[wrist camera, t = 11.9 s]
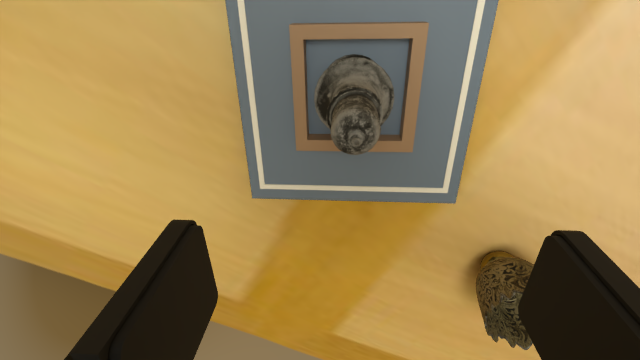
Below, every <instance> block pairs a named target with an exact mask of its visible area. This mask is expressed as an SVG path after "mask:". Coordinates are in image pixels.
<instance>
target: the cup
mask: <svg viewBox="0 0 640 360" xmlns="http://www.w3.org/2000/svg"><path fill="white" fill-rule="evenodd" d="M533 267H534V265H533V264H531V263H529V262H528V261H526V260H523V259H520V258H515V257H514V256H512V255H511V254H509V253H507V252H504V251H495V252H492V253H489V254H488V255H486V256H485V257H484V258H483V259H482V261H481V271H480V272H479V274H478V276H477V280H476V292H477V298H478V302H479V306H480V309H481V313H482V317H483V320H484V324H485V329H486V332H487V334H488V335H489V336H492V339H493V340H494V341H495V342H497V341H498V336H499V337H500V338H501V339H503V338H504V339H506V340H507V341H508V343H509V344H510V346H511V347H513V348H514V347H515V345H516V344H517V345H518V346H520V347H521V348H522V349H524V350H527V349H529V348H530V346H531V345H532V344H533V342H532V340H531V339H530V337H529V335H528V333H527V331H526V329H525V327H524V325H523V324H522V322H521V320H520V317H519V314H518V305H519V302H520V300H521V297H522V295H523V292H524V290H525V287H526V285H527V282H528V280H529V277H530V274H531V272H532V269H533Z"/></svg>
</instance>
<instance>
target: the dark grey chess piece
mask: <svg viewBox="0 0 640 360" xmlns="http://www.w3.org/2000/svg"><path fill="white" fill-rule="evenodd" d="M314 103H315V108H316V112H317V114H318V116H319V118H320V120H321V121H322V122H323V123H324V124H325V125H326V126H327V127H328V128H329V129H330V130H331V131H330V133H331V138H332V140H333V142H334V144H335V146H336V147H337V148H338V149H339V150H341V151H342V152H344V153H346V154H350V155H358V154H363V153H365V152H368V151H369V150H370V149H372V148H373V147H374V145H375V144H376V143H377V141H378V139H379V137H380V132H381V125H382V124H383V123H384V122H385V121H386V119H387V118H388V117H389V115H390V112H391V110H392V108H393V103H394V87H393V85H392V82H391V79H390V77H389V76H388V74H387V73H386V72H385V70H384V69H383V68H382V67H381V66H379V65H378V64H377V63H376V62H374V61H373V60H372V59H370V58H369V57H366V56H363V55H358V54H351V55H345V56H343V57H341V58H339V59H337V60H335V61H334V62H333V63H332V64H331V65H330V66H329V67H328V68H327V69H326V70H325V71H324V72H323V74H322V75H321V77H320V78H319V80H318V83H317V85H316V88H315V95H314Z"/></svg>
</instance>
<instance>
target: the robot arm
mask: <svg viewBox="0 0 640 360" xmlns="http://www.w3.org/2000/svg"><path fill="white" fill-rule="evenodd" d="M217 299H218V291H217V287H216V283H215V279H214V275H213V270H212V266H211V262H210V258H209V254H208V249H207V245H206V241H205V237H204V233H203V229H202V227H201V226H197V224H196V222H195V221H193V220H172V221H171V222H170V223H169V224H168V225H167V227H166V228H165V229H164V231H163V232H162V233H161V235H160V236H159V237H158V238H157V240H156V241H155V242H154V244H153V245H152V246H151V248H150V249H149V250H148V251H147V253H146V254H145V255H144V257H143V258H142V259H141V261H140V262H139V263H138V264H137V266H136V267H135V268H134V270H133V271H132V272H131V273H130V275H129V276H128V277H127V279H126V280H125V281H124V283H123V284H122V285H121V286H120V288H119V289H118V290H117V292H116V293H115V294H114V296H113V297H112V298H111V299H110V301H109V302H108V304H107V305H106V306H105V307H104V309H103V310H102V311H101V313H100V314H99V315H98V317H97V318H96V319H95V320H94V322H93V323H92V324H91V326H90V327H89V328H88V329H87V331H86V332H85V333H84V335H83V336H82V337H81V338H80V340H79V341H78V342H77V344H76V345H75V346H74V348H73V349H72V350H71V352H70V353H69V354H68V356H67V357H66V358H65V359H64V360H193V359H194V357H195V354H196V352H197V350H198V347H199V345H200V342H201V340H202V338H203V335H204V333H205V330H206V328H207V326H208V323H209V321H210V318H211V316H212V314H213V311H214V309H215V307H216V304H217ZM518 314H519V317H520V320H521V322H522V324H523V325H524V327H525V329H526V331H527V333H528V335H529V337H530V339H531V340H532V342H533V344H534V346H535V348H536V350H537V352H538V354H539V356H540V357H541V359H542V360H640V288H639V287H638V286H637V285H636V284H635V283H634V282H633V281H632V280H631V279H630V278H629V277H628V276H627V275H626V274H625V273H624V272H623V271H622V270H621V269H620V268H619V267H618V266H617V265H616V264H615V263H614V262H613V261H612V260H611V259H610V258H609V257H608V256H607V255H606V254H605V253H604V252H603V251H602V250H601V249H600V248H599V247H598V246H597V245H596V244H595V243H594V242H593V241H592V240H591V239H590V238H589V237H588V236H587V235H586V234H585V233H584V232H581V231H562V230H557V231H554V232H553V233H552V234H551V236H547V237H546V238H545V240H544V242H543V244H542V247H541V249H540V252H539V254H538V257H537V259H536V262H535V264H534V267H533V269H532V272H531V274H530V277H529V280H528V282H527V285H526V287H525V290H524V292H523V295H522V297H521V300H520V302H519V305H518Z"/></svg>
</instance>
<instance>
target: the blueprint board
mask: <svg viewBox="0 0 640 360" xmlns="http://www.w3.org/2000/svg"><path fill="white" fill-rule="evenodd" d="M225 2H226V9H227V16H228V24H229V31H230V38H231V46H232V53H233V60H234V67H235V75H236V82H237V89H238V97H239V104H240V111H241V119H242V126H243V133H244V141H245V148H246V155H247V162H248V170H249V177H250V184H251V192H252V198H262V199H301V200H341V201H380V202H419V203H455V202H456V197H457V193H458V188H459V183H460V179H461V174H462V169H463V165H464V160H465V155H466V151H467V146H468V141H469V136H470V132H471V127H472V122H473V118H474V113H475V108H476V104H477V99H478V94H479V90H480V85H481V80H482V75H483V71H484V66H485V61H486V57H487V52H488V47H489V43H490V38H491V33H492V29H493V24H494V19H495V14H496V10H497V5H498V0H225ZM351 54H358V55H363V56H366V57H369V58H370V59H372V60H373V61H374V62H376V63H377V64H378V65H379V66H381V67H382V68H383V69H384V70H385V72H386V73H387V74H388V76H389V77H390V79H391V82H392V85H393V87H394V103H393V108H392V110H391V112H390V115H389V117H388V118H387V119H386V121H385V122H384V123H383V124H382V125H381V132H380V137H379V139H378V141H377V143H376V144H375V145H374V147H373V148H372V149H370V150H369V151H368V152H365V153H363V154H358V155H350V154H346V153H344V152H342V151H341V150H339V149H338V148H337V147H336V146H335V144H334V142H333V140H332V138H331V133H330V131H331V130H330V129H329V128H328V127H327V126H326V125H325V124H324V123H323V122H322V121H321V120H320V118H319V116H318V114H317V112H316V108H315V103H314V95H315V88H316V85H317V83H318V80H319V78H320V77H321V75H322V74H323V72H324V71H325V70H326V69H327V68H328V67H329V66H330V65H331V64H332V63H333V62H334V61H335V60H337V59H339V58H341V57H343V56H345V55H351Z"/></svg>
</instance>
